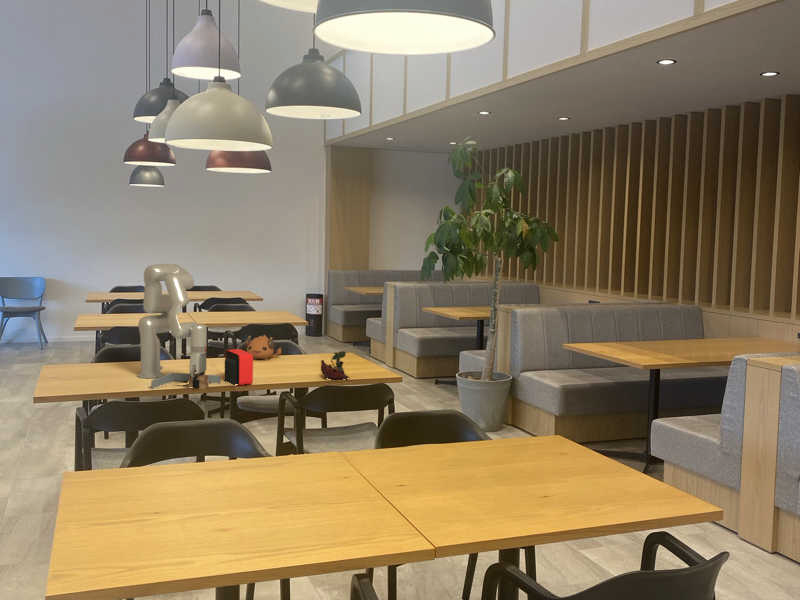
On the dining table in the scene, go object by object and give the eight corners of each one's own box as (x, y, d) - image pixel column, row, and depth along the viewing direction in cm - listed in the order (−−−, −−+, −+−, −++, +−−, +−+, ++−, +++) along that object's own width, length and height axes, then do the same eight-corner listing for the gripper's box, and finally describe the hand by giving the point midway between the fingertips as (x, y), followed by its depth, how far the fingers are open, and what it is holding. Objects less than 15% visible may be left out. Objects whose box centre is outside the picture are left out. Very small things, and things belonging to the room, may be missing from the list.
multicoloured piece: (350, 381, 396) (350, 353, 395) (321, 382, 394) (321, 353, 393) (348, 376, 410) (348, 349, 409) (320, 376, 408) (320, 349, 407)
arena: (172, 380, 388) (172, 372, 387) (220, 383, 383) (220, 375, 383) (151, 388, 367) (151, 380, 366) (202, 392, 362) (202, 383, 362)
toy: (240, 359, 447) (242, 333, 448) (251, 359, 464) (253, 334, 465) (272, 361, 443) (274, 335, 444) (281, 360, 461) (283, 336, 461)
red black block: (235, 387, 375) (235, 355, 374) (220, 379, 392) (221, 349, 391) (253, 385, 381) (253, 354, 379) (238, 378, 397) (239, 348, 396)
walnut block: (193, 386, 375) (193, 374, 374) (208, 387, 374) (208, 375, 373) (188, 388, 370) (188, 376, 369) (204, 389, 369) (204, 377, 368)
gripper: (198, 346, 379) (198, 382, 381) (183, 352, 362) (183, 389, 364) (213, 347, 378) (212, 383, 380) (198, 352, 361) (198, 390, 363)
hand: (198, 386), depth 372 cm, fingers closed on walnut block, 5 cm apart
